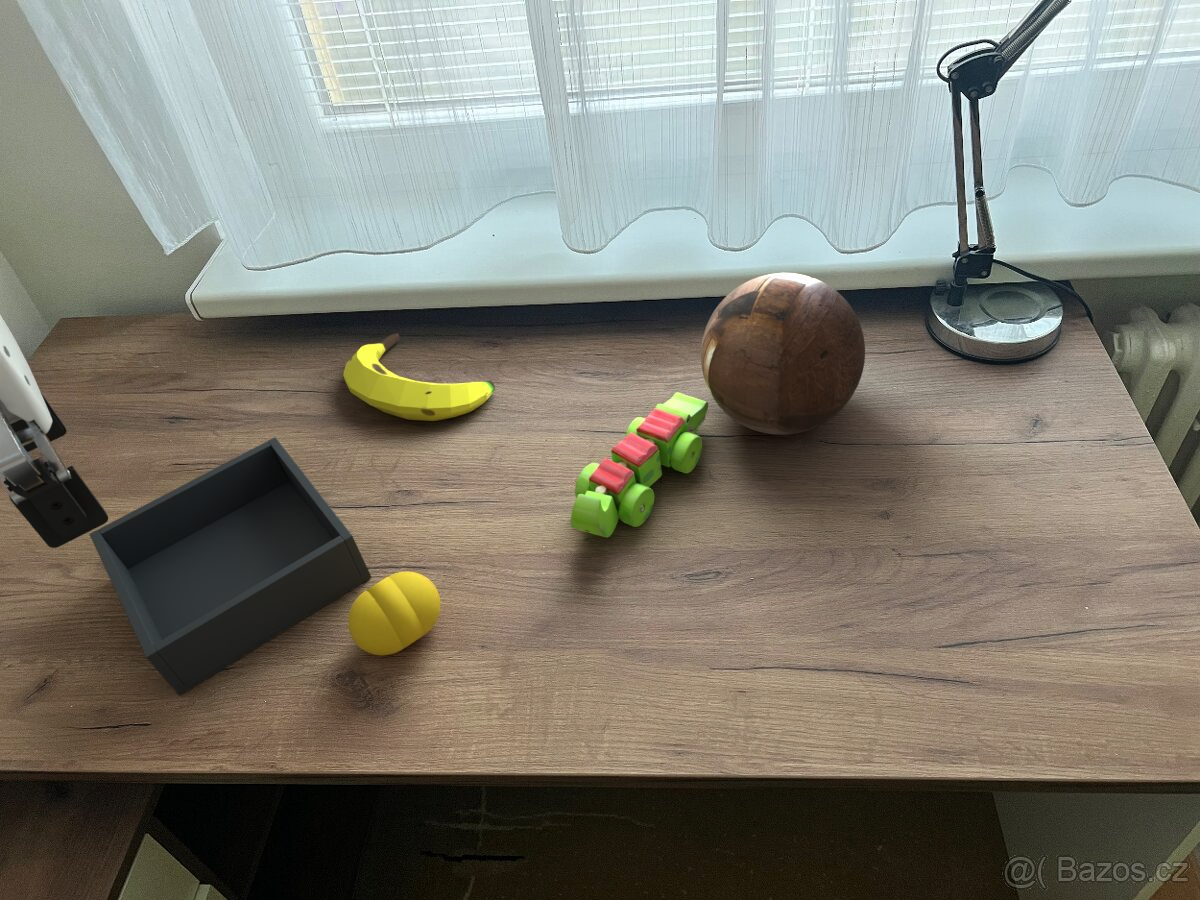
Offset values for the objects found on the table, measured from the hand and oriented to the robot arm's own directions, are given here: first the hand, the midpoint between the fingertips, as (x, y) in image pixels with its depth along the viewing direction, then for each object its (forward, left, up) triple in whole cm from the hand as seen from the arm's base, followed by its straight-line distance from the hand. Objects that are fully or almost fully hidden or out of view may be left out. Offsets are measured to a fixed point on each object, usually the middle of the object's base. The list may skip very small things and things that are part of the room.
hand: (59, 485), depth 51 cm
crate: (+6, +12, -26) cm, 29 cm away
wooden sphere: (+55, -6, -26) cm, 61 cm away
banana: (+32, +24, -26) cm, 48 cm away
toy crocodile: (+39, -4, -26) cm, 47 cm away
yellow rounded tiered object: (+14, -4, -26) cm, 29 cm away
